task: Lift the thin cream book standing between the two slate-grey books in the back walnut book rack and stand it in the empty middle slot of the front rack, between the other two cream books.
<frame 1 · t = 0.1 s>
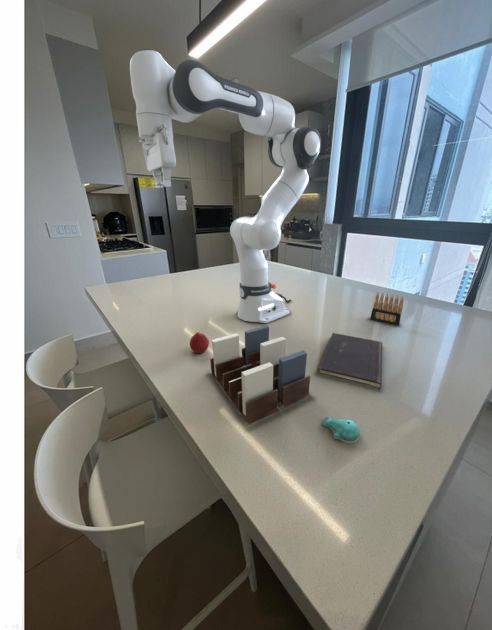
hand: (163, 187, 76), 48 cm above the table, tool pointing down, fingers open, 8 cm apart
book rack: (256, 386, 68), on the table
ammunition clip: (384, 322, 104), on the table
hardcover book: (352, 361, 79), on the table
whale figurine: (339, 433, 54), on the table
cream book 1: (227, 372, 72), point 1 cm above the table, touching book rack
onion: (200, 354, 83), on the table
cream book 2: (257, 408, 59), point 1 cm above the table, touching book rack
grey book 1: (257, 362, 76), point 1 cm above the table, touching book rack
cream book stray: (272, 376, 70), point 1 cm above the table, touching book rack
grey book 2: (290, 394, 64), point 1 cm above the table, touching book rack
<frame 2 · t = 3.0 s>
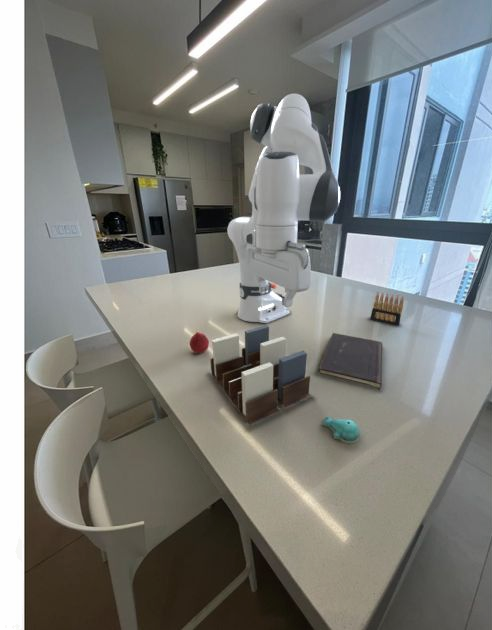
hand: (274, 299, 61), 23 cm above the table, tool pointing down, fingers open, 8 cm apart
nothing on the table moved.
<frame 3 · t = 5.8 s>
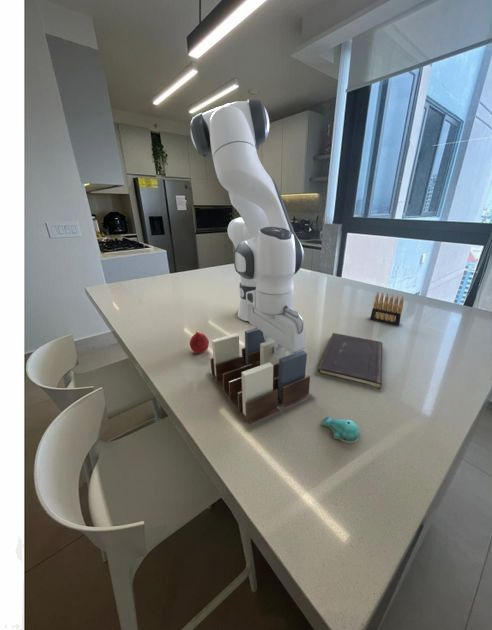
hand: (273, 350, 67), 9 cm above the table, tool pointing down, fingers closed on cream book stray, 1 cm apart
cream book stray: (272, 376, 70), point 1 cm above the table, touching book rack, gripper
everything else where it was.
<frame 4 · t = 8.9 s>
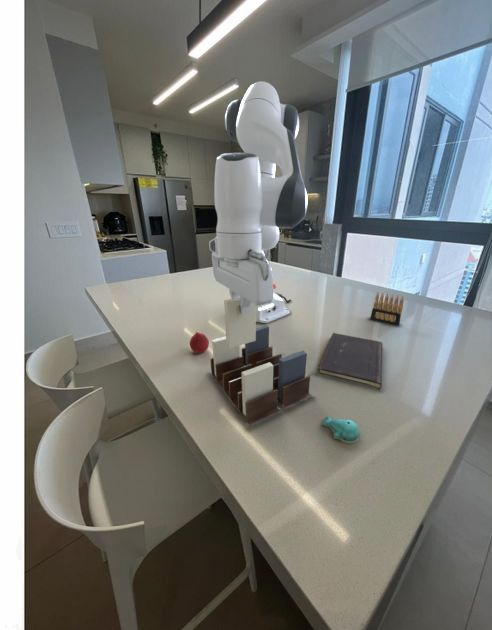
hand: (240, 311, 57), 22 cm above the table, tool pointing down, fingers closed on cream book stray
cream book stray: (241, 343, 60), point 14 cm above the table, touching gripper
everything else where it was.
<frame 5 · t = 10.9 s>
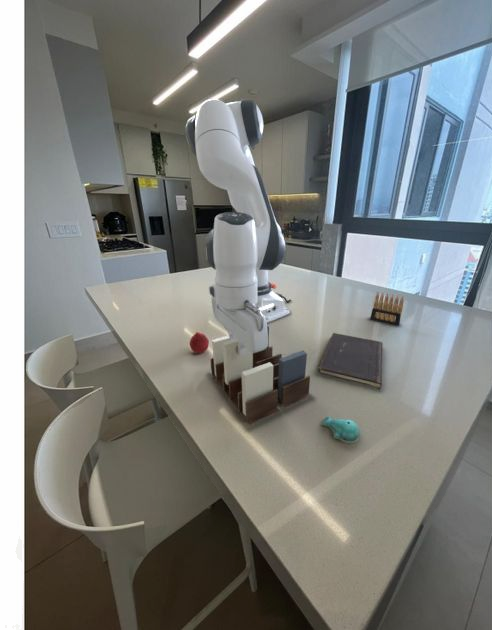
hand: (238, 350, 61), 12 cm above the table, tool pointing down, fingers closed on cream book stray
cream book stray: (239, 379, 64), point 4 cm above the table, touching gripper
everything else where it was.
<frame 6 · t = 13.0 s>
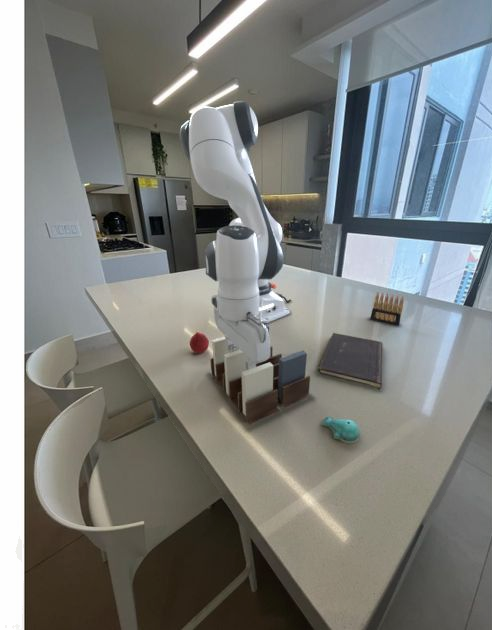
hand: (240, 359, 62), 10 cm above the table, tool pointing down, fingers open, 8 cm apart
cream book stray: (240, 389, 65), point 1 cm above the table, touching book rack
everything else where it was.
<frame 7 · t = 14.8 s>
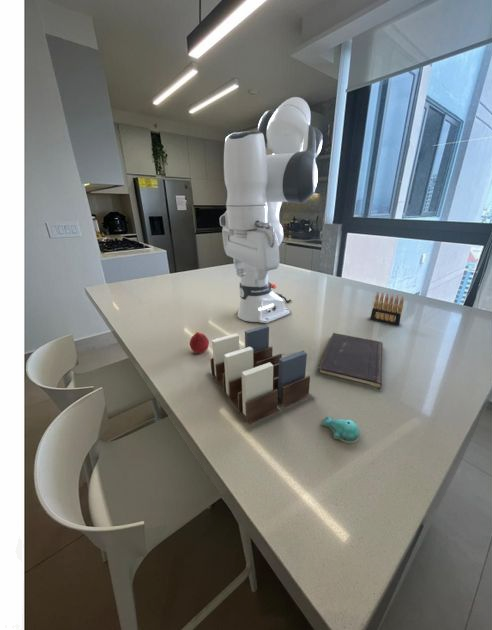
hand: (249, 280, 63), 27 cm above the table, tool pointing down, fingers open, 8 cm apart
nothing on the table moved.
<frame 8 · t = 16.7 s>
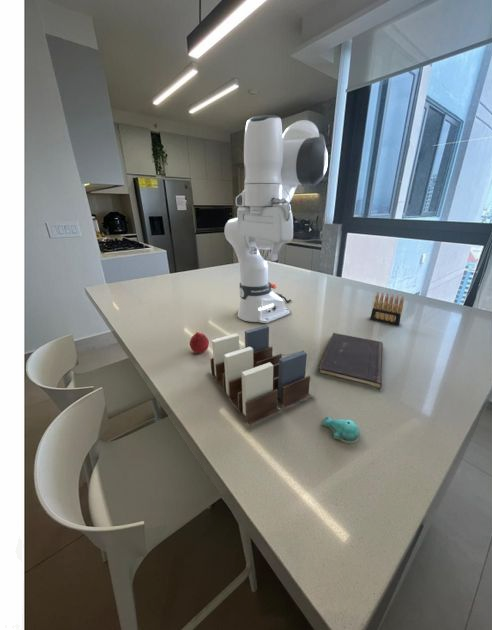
hand: (262, 257, 67), 31 cm above the table, tool pointing down, fingers open, 8 cm apart
nothing on the table moved.
at the end: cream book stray 0.3 cm from the target spot on the book rack, point 1.0 cm above the book rack's base; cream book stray tilted 0°; the gripper is holding nothing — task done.
